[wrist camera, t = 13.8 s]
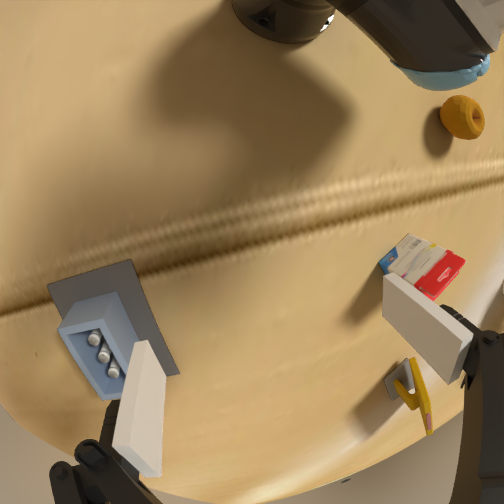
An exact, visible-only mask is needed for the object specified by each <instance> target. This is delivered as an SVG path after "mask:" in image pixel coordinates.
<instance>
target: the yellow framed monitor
mask: <svg viewBox="0 0 504 504" xmlns="http://www.w3.org/2000/svg"><path fill="white" fill-rule="evenodd" d="M384 382H385V385H386V387H387V390H388V393H389V396H390V398H391V400H394V399H396V398H397V397H399V396H400V397H401V398H402V399H403V401H404V402H405V403H406V404H407V406H408V407H409V408H410V409H411V410H415V409H417V408H418V407H419V408H420V411H421V415H422V418H423V422H424V426H425V430H426V434H427V435H431V434H433V426H432V413H431V402H430V399H429V395H428V392H427V389H426V387H425V384H424V381H423V378H422V375H421V372H420V369H419V367H418V364H417V361H416V359H415V357H413V358H411V359H408V358H406V359H405V360H404V361H403V362H402V363H401V364H400V365H398V366H397V367H396V368H395V369H394V370H393V371H392V372H391V373H390V374H389V375H388V376H387V377H385V378H384ZM414 387H415V393H414V394H410V393H409V392H408V391H409V390H411V389H412V388H414Z"/></svg>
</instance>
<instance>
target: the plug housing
mask: <svg viewBox="0 0 504 504" xmlns="http://www.w3.org/2000/svg"><path fill="white" fill-rule="evenodd" d="M96 328H100V330H101V332H102V334H103V336H104V338H105V340H106V341H107V343H108V345H109V347H110V349H111V350H112V352H113V354H114V356H115V358H116V359H117V361H118V363H119V364H120V366H121V367H120V371H119V376H118V377H117V378H112V377H110V376H109V375H108V371H109V368H110V365H111V362H112V360H111V358H109V361H108V362H107V363H104V362H101V361H100V360H99V358H98V355H99V353H100V351H101V349H102V346H103V344H102V342H101V340H100V342H99V344H98V345H97V346H94V345H91V344H90V343H89V341H88V338H89V336H90V334H91V332H92V330H93V329H96ZM57 330H58V332H59V334H60V336H61V338H62V339H63V341H64V343H65V345H66V346H67V348H68V350H69V351H70V353H71V355H72V356H73V358H74V360H75V361H76V363H77V364H78V366H79V368H80V369H81V371H82V372H83V374H84V375H85V377H86V378H87V380H88V381H89V383H90V384H91V386H92V387H93V388H94V390H95V391H96V393H97V394H98V395H99V397H100V398H101V399H102V401H103V400H111V399H119V398H121V397H122V392H123V388H124V383H125V379H126V375H127V371H128V367H129V363H130V359H131V355H132V351H133V347H134V343H135V342H139V339H138V337H137V335H136V333H135V331H134V329H133V326H132V324H131V322H130V320H129V318H128V316H127V314H126V311H125V309H124V307H123V305H122V302H121V300H120V298H119V295H118V293H117V291H115V292H112V293H108V294H104V295H101V296H97V297H93V298H90V299H86V300H82V301H78V302H75V303H74V305H73V306H72V307H71V309H70V310H69V312H68V313H67V315H66V316H65V318H64V319H63V321H62V322H61V324H60V325H59V327H58V328H57Z"/></svg>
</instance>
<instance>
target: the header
mask: <svg viewBox="0 0 504 504" xmlns="http://www.w3.org/2000/svg"><path fill="white" fill-rule="evenodd" d="M47 288H48V290H49V292H50V294H51V296H52V299H53V301H54V303H55V305H56V307H57V309H58V311H59V313H60V315H61V317H62V319H64V318H65V316H66V315H67V313H68V312H69V310H70V309H71V307H72V306H73V305H74V303H75V302H78V301H82V300H86V299H90V298H93V297H97V296H101V295H104V294H108V293H112V292H115V291H117V293H118V295H119V298H120V300H121V302H122V305H123V307H124V309H125V311H126V314H127V316H128V318H129V320H130V322H131V324H132V326H133V329H134V331H135V333H136V335H137V337H138V339H139V341H144V340H148V341H149V344H150V346H151V348H152V350H153V352H154V354H155V356H156V358H157V360H158V361H159V363H160V365H161V367H162V369H163V371H164V373H165V375H166V377H167V376H172V375H177V374H180V372H179V370H178V368H177V366H176V364H175V362H174V360H173V358H172V356H171V354H170V352H169V350H168V347H167V345H166V343H165V341H164V339H163V337H162V334H161V332H160V330H159V328H158V325H157V323H156V321H155V319H154V316H153V314H152V312H151V309H150V307H149V304H148V302H147V300H146V297H145V295H144V292H143V290H142V287H141V285H140V282H139V279H138V277H137V274H136V271H135V269H134V266H133V263H132V261H131V259H130V260H127V261H123V262H120V263H116V264H113V265H110V266H106V267H103V268H100V269H96V270H93V271H90V272H87V273H83V274H80V275H77V276H74V277H70V278H67V279H64V280H61V281H58V282H54V283H51V284H48V285H47ZM100 340H101V342H102V344H103V346H102V349H101V351H100V353H99V355H98V358H99V360H100V361H101V362H104V363H107V362H108V361H109V358H111V360H112V362H111V365H110V368H109V371H108V375H109V376H110V377H112V378H117V377H118V376H119V371H120V367H121V366H120V364H119V363H118V361H117V359H116V358H115V356H114V354H113V352H112V350H111V349H110V347H109V345H108V343H107V341H106V340H105V338H104V336H103V334H102V332H101V330H100V328H96V329H93V330H92V332H91V334H90V336H89V338H88V341H89V343H90V344H91V345H94V346H97V345H98V344H99V342H100Z"/></svg>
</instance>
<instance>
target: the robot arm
mask: <svg viewBox="0 0 504 504" xmlns="http://www.w3.org/2000/svg"><path fill="white" fill-rule="evenodd" d="M232 4H233V8H234V11H235V13H236V15H237V17H238V18H239V19H240V21H241V22H242V23H243V24H244V25H245V26H246V27H247V28H249V29H250V30H251V31H253V32H254V33H256V34H258V35H260V36H262V37H264V38H267V39H270V40H273V41H277V42H282V43H301V42H306V41H309V40H312V39H314V38H315V37H317V36H319V35H320V34H321V33H322V32H323V31H324V30H326V29H327V28H328V26H329V25H330V23H331V22H332V19H333V16H334V13H335V10H336V9H337V10H338V11H339V12H341V13H342V14H343V15H344V16H345V17H346V18H348V19H349V20H350V21H351V22H352V23H353V24H354V25H356V26H357V27H358V28H359V29H360V30H361V31H362V32H363V33H364V34H365V35H366V36H368V37H369V38H370V39H371V40H372V41H373V42H374V43H375V44H376V45H377V46H378V47H379V48H380V49H381V50H382V51H383V52H384V53H385V54H386V55H387V56H388V57H389V59H390V61H391V62H392V64H393V65H394V66H396V67H397V68H399V69H400V70H401V71H402V72H403V73H404V74H405V75H406V76H407V77H408V78H409V79H410V80H411V81H412V82H413V83H414V84H416V85H417V86H420V87H422V88H425V89H427V90H433V91H446V90H452V89H457V88H461V87H464V86H466V85H469V84H471V83H473V82H474V81H476V80H477V77H478V76H483V75H484V74H485V73H486V72H487V70H488V69H489V65H490V58H489V54H490V53H492V52H495V51H498V47H499V41H500V36H501V35H502V33H504V0H232ZM382 316H383V317H384V318H385V319H386V320H387V321H388V322H389V323H390V324H391V325H392V326H393V327H394V328H395V329H396V330H397V331H398V332H399V333H400V335H401V336H402V337H403V338H404V339H405V340H406V341H407V342H408V343H409V344H410V345H411V346H412V347H413V348H414V349H415V350H416V351H417V352H418V353H419V354H420V355H421V356H422V357H423V359H424V360H425V361H426V362H427V363H428V364H429V365H430V366H431V367H432V368H433V369H434V370H435V371H436V372H437V374H438V375H439V376H440V377H441V378H442V379H443V380H444V381H445V382H446V383H447V385H449V384H450V383H452V382H453V381H455V380H456V379H458V378H459V376H460V374H461V371H462V369H463V370H464V371H465V372H466V374H465V377H464V379H463V382H462V384H461V388H463V386H464V384H465V390H464V415H463V428H462V439H461V446H460V454H459V461H458V466H457V473H456V478H455V482H454V487H453V492H452V496H451V500H450V502H449V504H504V333H502V334H498V333H496V332H494V331H490V330H487V331H483V332H482V331H481V330H480V329H478V328H477V327H476V326H475V325H473V324H472V323H471V322H470V321H468V320H467V319H466V318H463V316H462V315H461V314H458V312H457V311H455V310H454V309H453V308H451V307H449V306H446V305H443V304H442V305H440V306H438V305H437V304H436V303H434V302H433V301H432V300H431V299H429V298H428V297H427V296H425V295H424V294H423V293H421V292H420V291H419V290H417V289H416V288H415V287H413V286H412V285H411V284H409V283H408V282H407V281H405V280H404V279H403V278H401V277H400V276H398V275H397V274H396V273H394V272H393V273H390V274H387V275H385V276H383V305H382ZM165 388H166V375H165V373H164V371H163V369H162V367H161V365H160V363H159V361H158V360H157V358H156V356H155V354H154V352H153V350H152V348H151V346H150V344H149V341H148V340H144V341H139V342H135V343H134V347H133V351H132V355H131V359H130V363H129V367H128V371H127V375H126V379H125V383H124V388H123V392H122V397H121V399H119V400H112V401H111V403H110V404H109V406H108V407H107V409H106V413H105V419H104V422H103V426H102V431H101V435H100V440H99V442H98V441H96V440H93V439H86V440H84V441H82V442H81V443H80V444H79V445H77V447H76V449H75V453H74V456H75V459H76V461H78V462H79V463H80V465H76V466H71V465H69V464H68V463H67V462H64V461H60V462H57V463H55V464H54V465H53V466H52V467H51V469H50V473H49V477H50V482H51V487H52V492H53V496H54V500H55V504H162V503H161V502H160V501H159V500H158V499H157V498H156V497H155V496H154V495H153V493H151V491H150V490H149V489H148V488H147V487H146V486H145V485H144V484H143V483H142V482H141V481H140V480H139V472H140V473H141V474H142V475H143V476H144V477H145V478H146V477H161V476H162V437H163V417H164V401H165ZM109 502H110V503H109Z"/></svg>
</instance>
